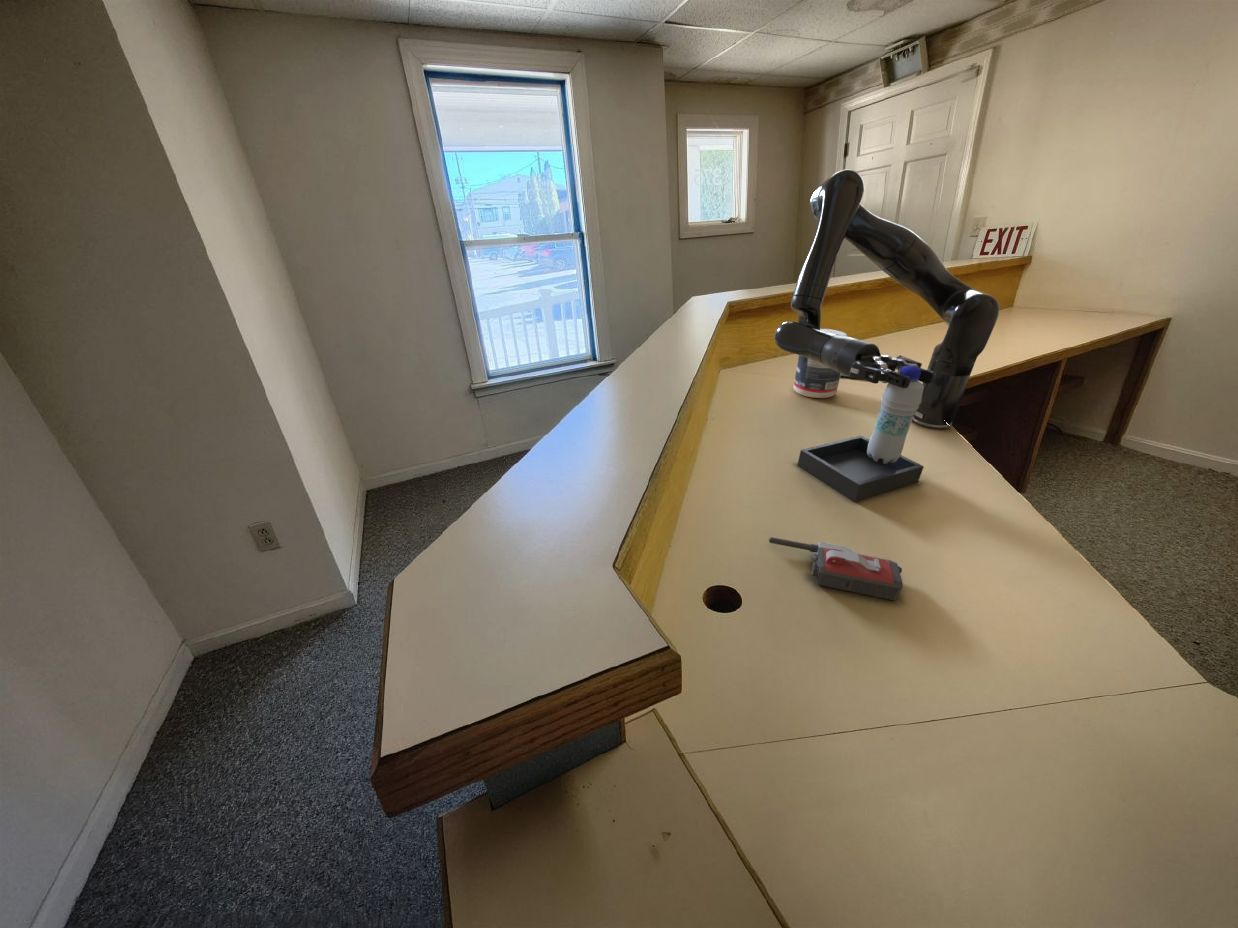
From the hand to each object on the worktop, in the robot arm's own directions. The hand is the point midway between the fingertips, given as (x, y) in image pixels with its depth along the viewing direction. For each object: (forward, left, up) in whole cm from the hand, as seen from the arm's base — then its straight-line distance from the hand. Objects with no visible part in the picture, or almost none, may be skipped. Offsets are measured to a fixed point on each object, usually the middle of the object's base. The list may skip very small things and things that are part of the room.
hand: (920, 380), depth 85 cm
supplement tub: (-25, -47, -23) cm, 58 cm away
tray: (+3, -5, -22) cm, 23 cm away
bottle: (0, -3, -18) cm, 18 cm away
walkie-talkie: (+31, +16, -23) cm, 41 cm away
